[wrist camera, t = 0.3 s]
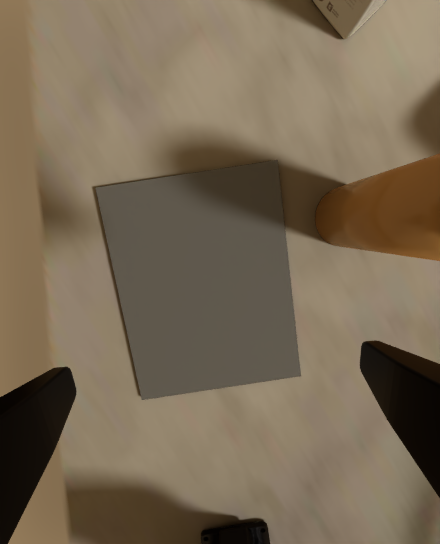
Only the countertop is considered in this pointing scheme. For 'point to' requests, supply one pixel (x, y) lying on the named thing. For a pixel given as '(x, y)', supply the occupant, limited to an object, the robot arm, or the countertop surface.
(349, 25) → the skincare box
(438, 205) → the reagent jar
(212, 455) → the countertop surface
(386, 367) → the robot arm
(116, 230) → the rubber mat
